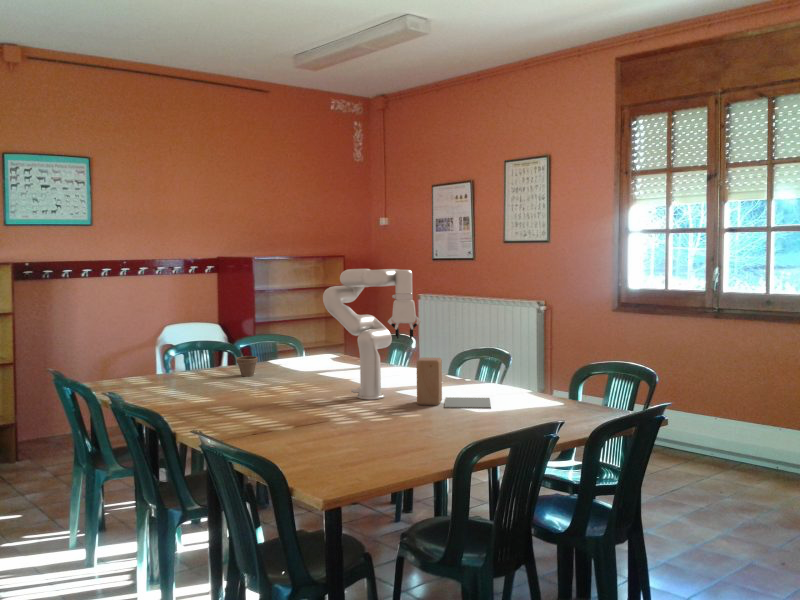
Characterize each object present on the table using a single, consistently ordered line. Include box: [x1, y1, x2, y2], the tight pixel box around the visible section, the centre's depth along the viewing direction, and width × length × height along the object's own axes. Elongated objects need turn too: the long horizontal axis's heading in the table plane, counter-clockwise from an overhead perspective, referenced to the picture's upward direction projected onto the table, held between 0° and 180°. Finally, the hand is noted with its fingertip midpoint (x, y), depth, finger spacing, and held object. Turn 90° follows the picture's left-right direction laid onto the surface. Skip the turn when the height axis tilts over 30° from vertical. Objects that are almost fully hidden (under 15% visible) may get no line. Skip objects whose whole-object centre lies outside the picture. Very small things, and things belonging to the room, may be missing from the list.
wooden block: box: [416, 356, 443, 406], centre depth 343 cm, size 10×10×20 cm
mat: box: [444, 396, 492, 409], centre depth 343 cm, size 20×20×1 cm
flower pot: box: [236, 355, 259, 378], centre depth 420 cm, size 12×11×10 cm
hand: (404, 337), depth 343 cm, fingers open, 5 cm apart
